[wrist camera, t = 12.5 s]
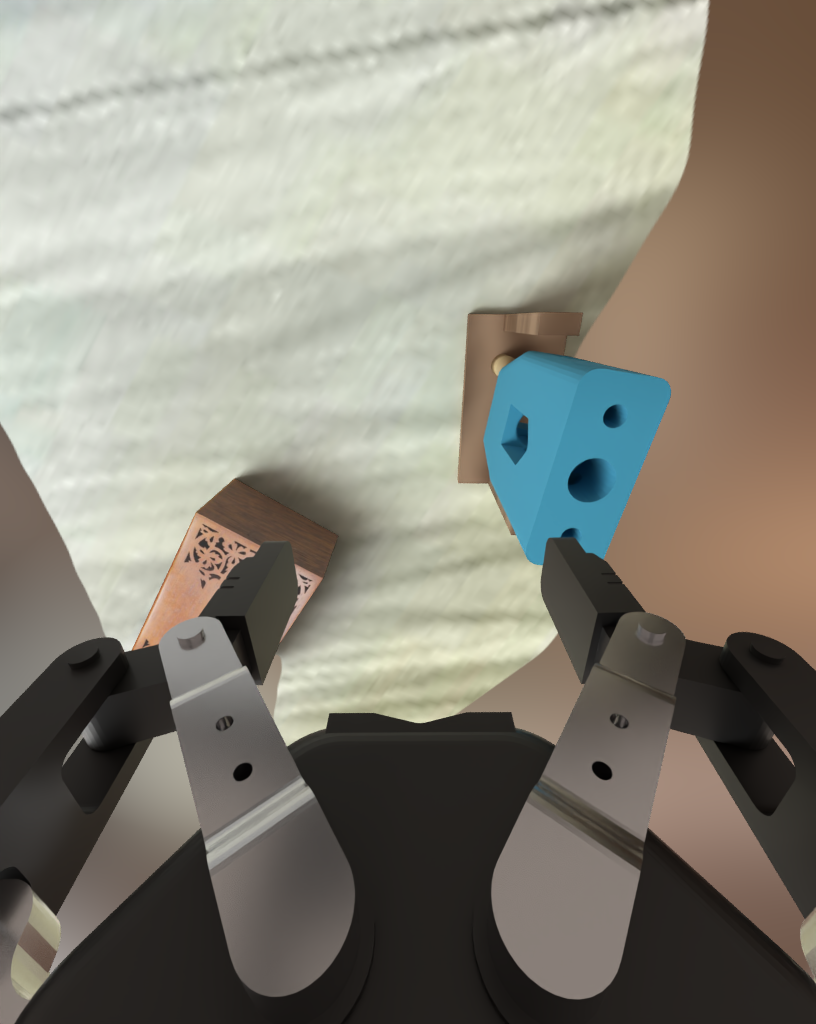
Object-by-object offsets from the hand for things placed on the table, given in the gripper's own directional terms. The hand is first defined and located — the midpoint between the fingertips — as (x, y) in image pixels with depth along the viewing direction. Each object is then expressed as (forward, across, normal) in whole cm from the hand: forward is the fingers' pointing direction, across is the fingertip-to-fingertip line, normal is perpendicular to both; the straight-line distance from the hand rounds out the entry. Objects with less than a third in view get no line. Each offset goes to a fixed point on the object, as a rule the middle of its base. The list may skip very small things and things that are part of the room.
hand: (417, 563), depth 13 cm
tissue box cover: (+36, +23, +25) cm, 50 cm away
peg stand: (+35, -10, +2) cm, 37 cm away
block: (+31, -10, +2) cm, 33 cm away
